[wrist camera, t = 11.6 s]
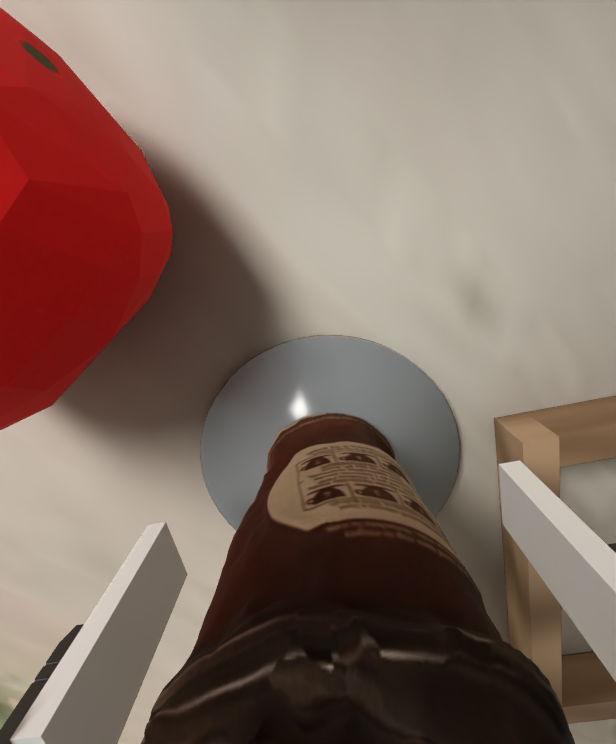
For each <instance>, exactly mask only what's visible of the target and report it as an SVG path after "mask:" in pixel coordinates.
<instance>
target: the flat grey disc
mask: <svg viewBox="0 0 616 744" xmlns="http://www.w3.org/2000/svg"><path fill="white" fill-rule="evenodd" d="M322 413H342V414H347V415H352V416H356V417H359V418H362V419H363V420H365V421H367V422H368V423H369V424H371V425H372V426H373V427H374V428H376V429H377V430H378V431H379V432H380V433H382V434H383V435H384V436H385V438H386V439H387V441H388V442H389V444H390V445H391V447H392V449H393V451H394V453H395V461H396V462H397V463H398V464H399V465H400V466H401V467H402V469H403V470H404V472H405V473H406V474H407V476H408V477H409V478H410V480H411V481H412V483H413V485H414V487H415V489H416V491H417V493H418V494H419V496H420V498H421V499H422V501H423V503H424V504H425V505H426V506H427V508H428V510H429V511H430V512H431V513H432V515H433V516H434V518H435V517H436V515H437V514H438V513H439V512H440V510H441V509H442V507H443V505H444V504H445V502H446V500H447V499H448V497H449V494H450V492H451V490H452V487H453V485H454V482H455V478H456V474H457V471H458V463H459V438H458V432H457V427H456V423H455V420H454V418H453V415H452V412H451V409H450V407H449V406H448V404H447V402H446V400H445V398H444V396H443V395H442V393H441V392H440V391H439V389H438V388H437V387H436V385H435V384H434V383H433V382H432V381H431V379H430V378H429V377H428V376H427V375H426V374H425V373H424V372H423V371H422V370H421V369H420V368H419V367H418V366H416V365H415V364H414V363H412V362H411V361H410V360H408V359H407V358H406V357H404V356H403V355H401V354H399V353H397V352H395V351H394V350H392V349H390V348H388V347H385V346H383V345H380V344H378V343H375V342H373V341H369V340H365V339H361V338H357V337H350V336H341V335H317V336H310V337H303V338H298V339H295V340H291V341H288V342H284V343H281V344H279V345H277V346H275V347H272V348H270V349H268V350H266V351H264V352H262V353H261V354H259V355H257V356H256V357H254V358H252V359H251V360H250V361H249V362H247V363H246V364H245V365H244V366H242V367H241V368H240V369H239V370H238V371H237V372H236V373H235V374H234V375H233V376H232V377H231V378H230V379H229V380H228V381H227V383H226V384H225V385H224V387H223V388H222V390H221V391H220V393H219V394H218V395H217V397H216V398H215V400H214V402H213V404H212V406H211V408H210V410H209V412H208V414H207V417H206V421H205V424H204V427H203V431H202V437H201V449H200V459H201V466H202V473H203V477H204V480H205V484H206V487H207V489H208V491H209V494H210V496H211V498H212V500H213V502H214V504H215V505H216V507H217V508H218V510H219V512H220V513H221V514H222V515H223V517H224V518H225V519H226V520H227V522H228V523H229V524H230V525H231V526H232V527H233V528H234V529H235V530H236V531H237V529H238V527H239V525H240V523H241V521H242V519H243V517H244V515H245V513H246V512H247V510H248V508H249V507H250V506H251V504H252V503H253V502H254V501H255V499H256V496H257V493H258V491H259V489H260V487H261V484H262V482H263V479H264V475H265V474H266V473H267V459H268V452H269V449H271V447H272V445H273V443H274V440H275V437H276V435H277V432H278V431H280V430H281V429H282V428H284V427H286V426H288V425H290V424H292V423H294V422H295V421H297V420H298V419H299V418H301V417H305V416H312V415H317V414H322Z"/></svg>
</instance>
